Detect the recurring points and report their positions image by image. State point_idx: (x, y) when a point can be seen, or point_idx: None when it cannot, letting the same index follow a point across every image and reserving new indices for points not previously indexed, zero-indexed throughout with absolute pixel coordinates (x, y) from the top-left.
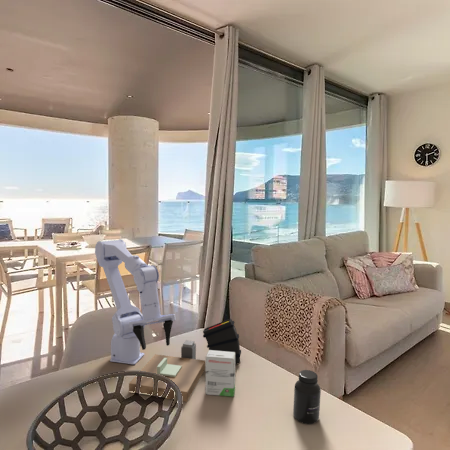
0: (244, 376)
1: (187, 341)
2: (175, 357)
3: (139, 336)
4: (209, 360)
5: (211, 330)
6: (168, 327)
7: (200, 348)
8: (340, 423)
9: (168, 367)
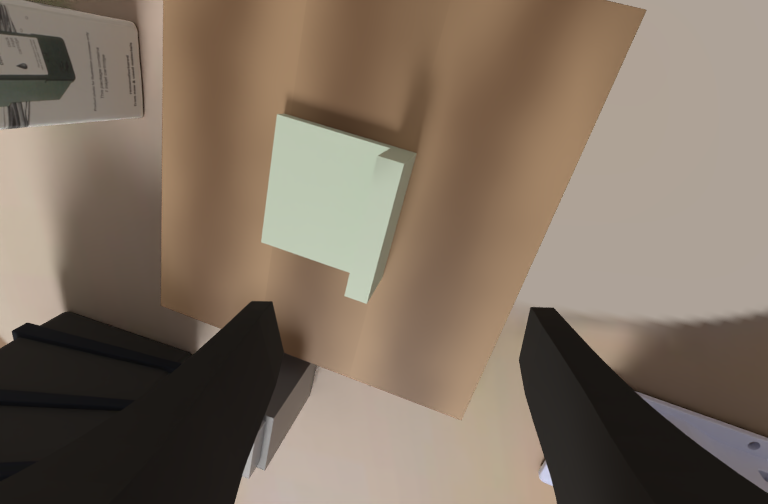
0: (18, 200)
1: None
2: (328, 362)
3: (655, 447)
4: None
5: None
6: (29, 483)
7: None
8: None
9: (341, 226)
